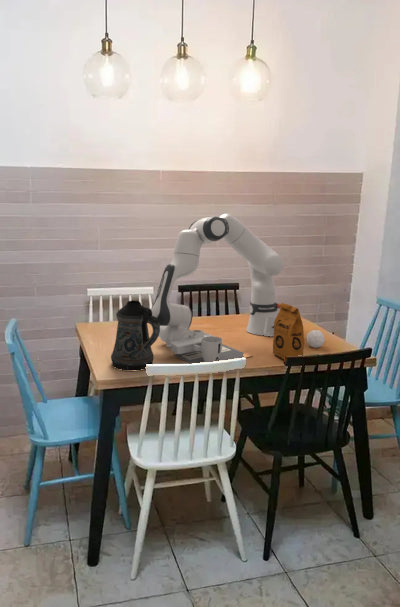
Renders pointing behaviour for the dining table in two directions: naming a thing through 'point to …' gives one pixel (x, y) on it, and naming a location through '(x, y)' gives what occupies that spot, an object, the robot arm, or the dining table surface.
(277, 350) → the coffee package
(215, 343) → the cup
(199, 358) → the label sheet
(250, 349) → the dining table surface
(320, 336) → the geometric ball
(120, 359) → the beer stein
